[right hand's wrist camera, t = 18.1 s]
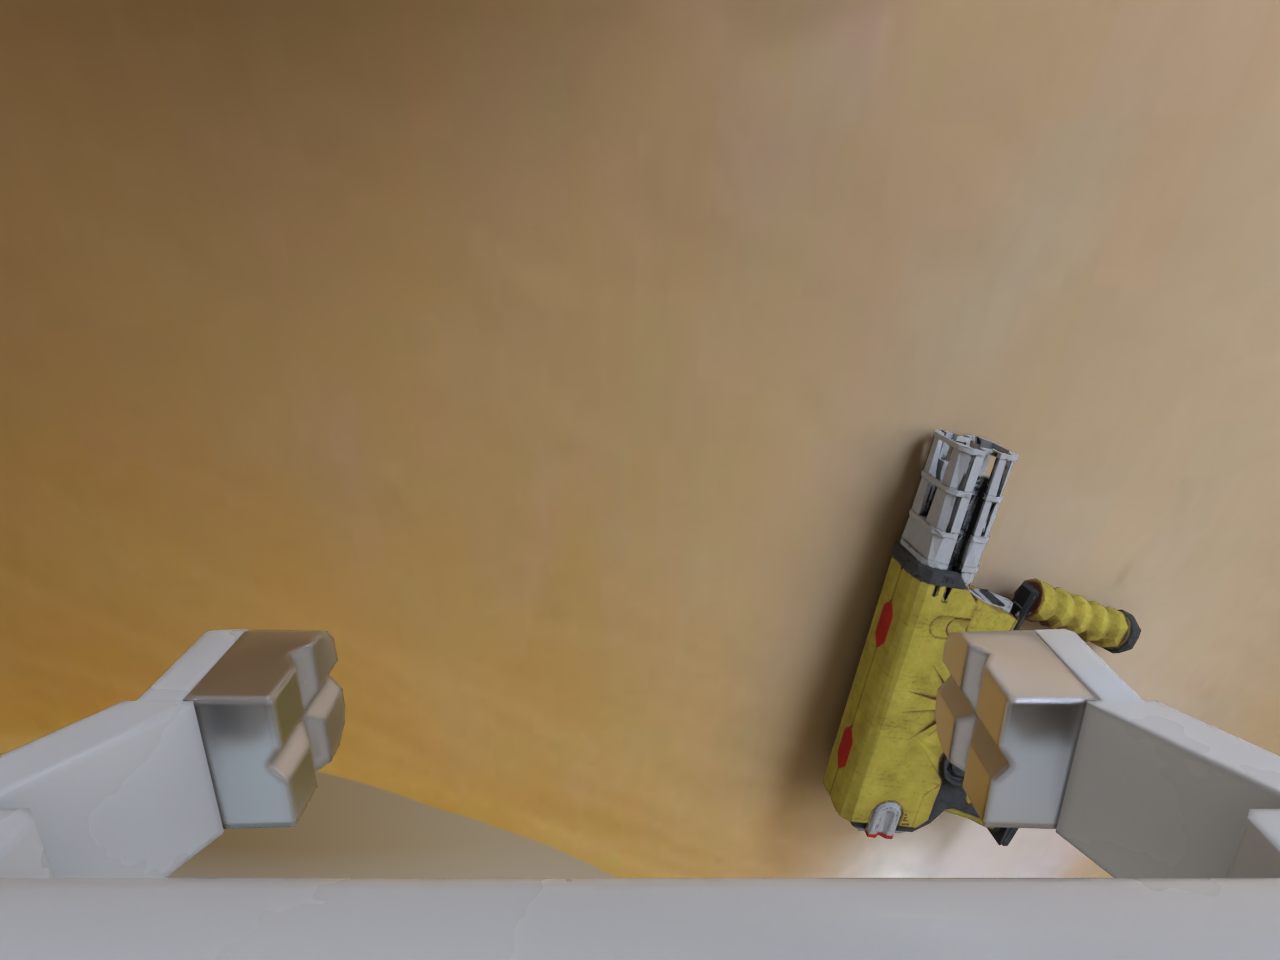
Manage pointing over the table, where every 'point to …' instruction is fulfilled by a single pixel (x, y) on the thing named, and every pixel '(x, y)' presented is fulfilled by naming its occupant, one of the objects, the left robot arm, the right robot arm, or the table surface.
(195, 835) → the right robot arm
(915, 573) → the toy gun
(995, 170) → the table surface
